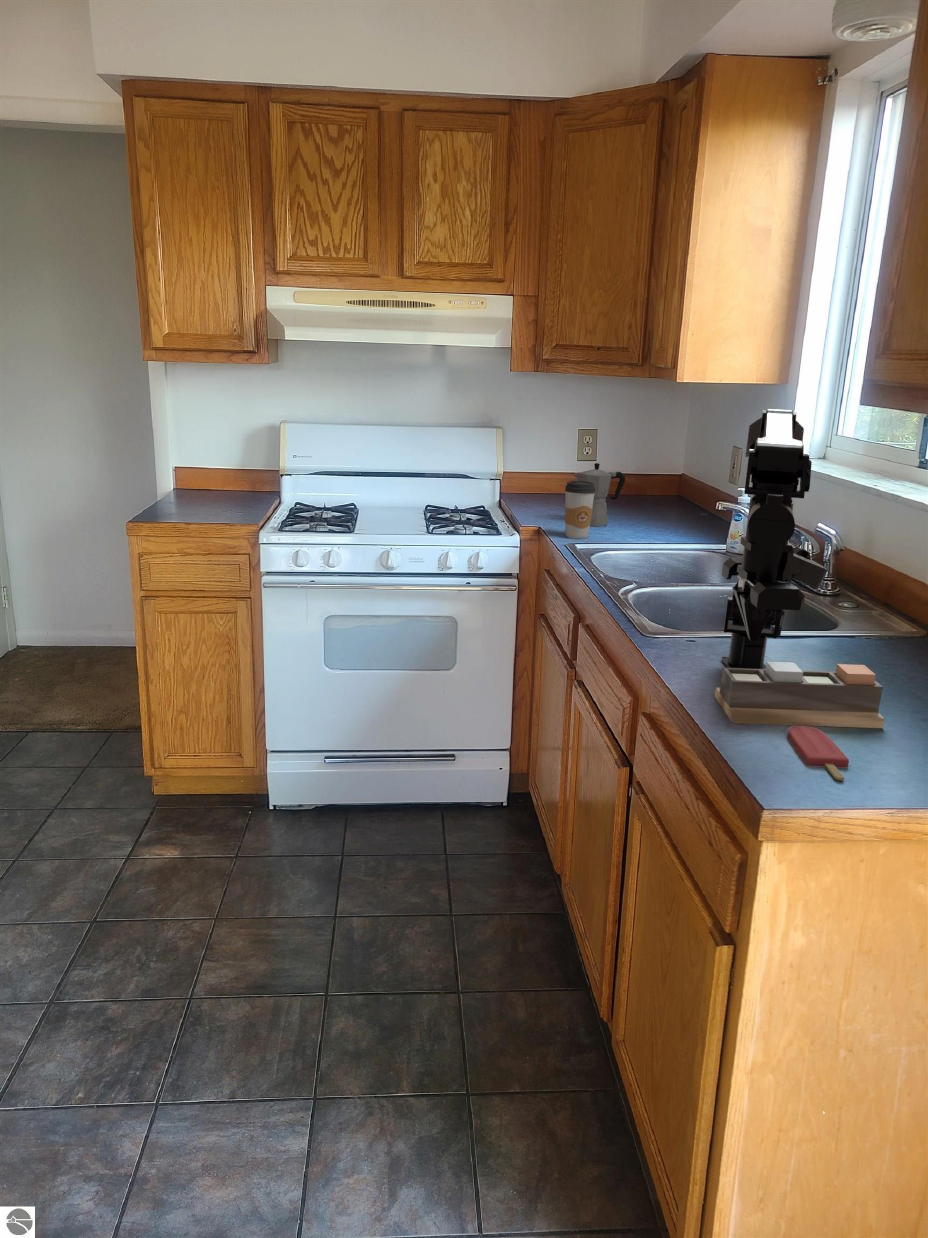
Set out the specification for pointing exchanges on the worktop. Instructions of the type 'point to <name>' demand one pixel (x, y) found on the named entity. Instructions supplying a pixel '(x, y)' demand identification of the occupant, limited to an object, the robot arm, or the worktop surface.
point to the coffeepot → (601, 492)
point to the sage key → (817, 679)
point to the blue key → (783, 672)
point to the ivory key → (746, 677)
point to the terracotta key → (855, 674)
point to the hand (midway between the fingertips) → (753, 640)
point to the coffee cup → (578, 508)
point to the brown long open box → (799, 701)
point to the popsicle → (817, 749)
